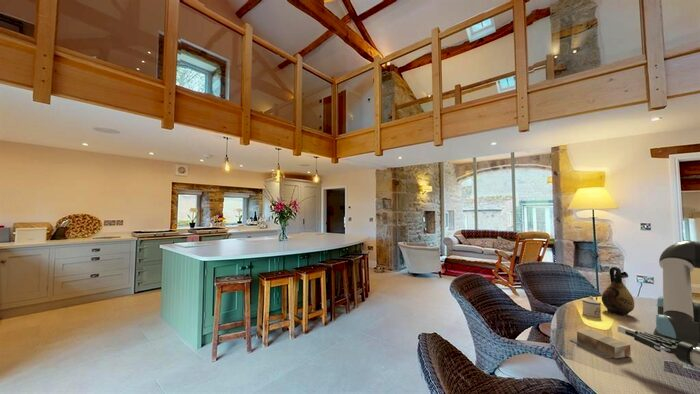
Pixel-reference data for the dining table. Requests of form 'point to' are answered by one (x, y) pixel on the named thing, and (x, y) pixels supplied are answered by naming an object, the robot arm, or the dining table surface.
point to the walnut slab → (604, 343)
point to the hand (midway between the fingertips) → (618, 328)
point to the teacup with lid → (591, 307)
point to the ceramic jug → (617, 294)
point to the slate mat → (590, 348)
